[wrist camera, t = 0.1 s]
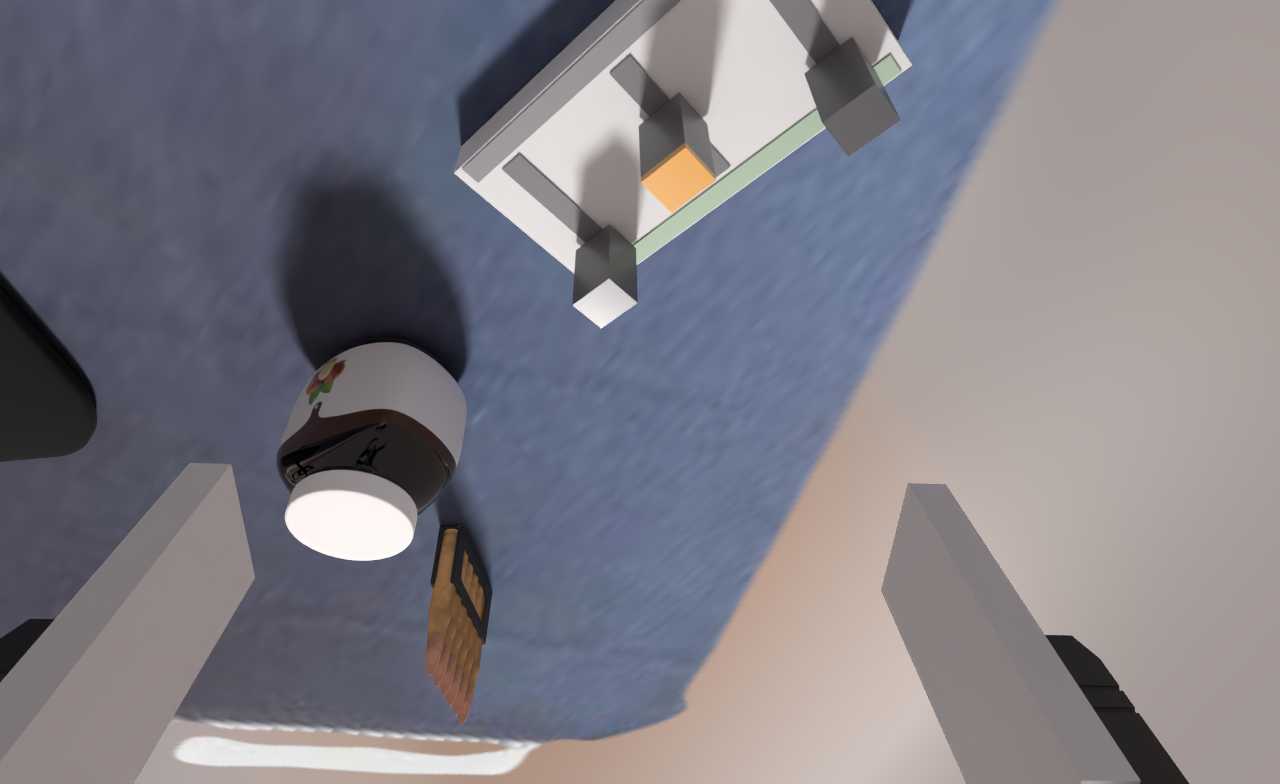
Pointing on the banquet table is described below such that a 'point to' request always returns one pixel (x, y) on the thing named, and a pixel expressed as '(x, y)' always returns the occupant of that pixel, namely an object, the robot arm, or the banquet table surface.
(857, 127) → the handle
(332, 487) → the spread jar
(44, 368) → the desk fan
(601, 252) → the handle
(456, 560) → the ammunition clip
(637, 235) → the breaker panel
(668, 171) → the handle
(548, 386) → the banquet table surface
